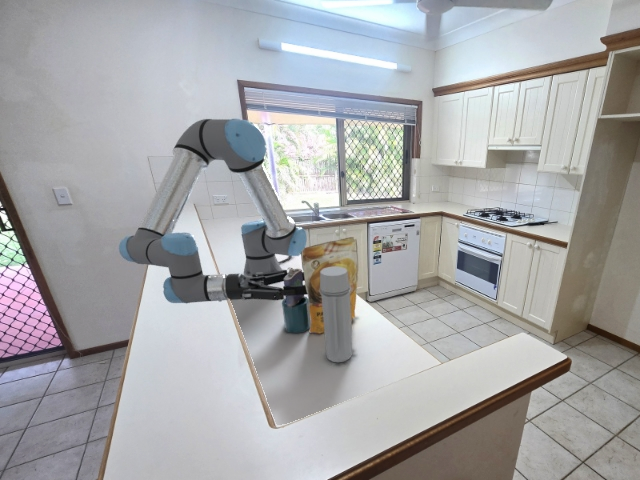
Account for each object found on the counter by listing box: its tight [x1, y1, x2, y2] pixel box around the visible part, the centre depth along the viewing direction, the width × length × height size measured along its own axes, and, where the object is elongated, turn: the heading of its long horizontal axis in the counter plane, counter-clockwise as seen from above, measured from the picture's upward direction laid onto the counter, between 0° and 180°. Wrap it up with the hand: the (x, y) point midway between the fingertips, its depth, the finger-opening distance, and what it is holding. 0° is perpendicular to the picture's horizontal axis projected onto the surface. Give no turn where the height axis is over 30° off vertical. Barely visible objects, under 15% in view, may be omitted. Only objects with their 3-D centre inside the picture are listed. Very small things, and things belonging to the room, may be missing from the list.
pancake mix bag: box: [300, 236, 359, 335], centre depth 98 cm, size 7×19×28 cm, turn 130°
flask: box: [283, 267, 305, 308], centre depth 98 cm, size 9×3×11 cm, turn 172°
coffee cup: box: [281, 295, 311, 334], centre depth 102 cm, size 8×8×9 cm
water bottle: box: [319, 266, 354, 363], centre depth 84 cm, size 9×8×25 cm
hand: (308, 282), depth 99 cm, fingers open, 10 cm apart
